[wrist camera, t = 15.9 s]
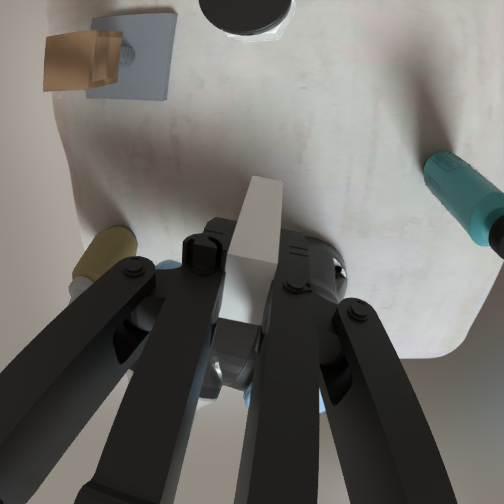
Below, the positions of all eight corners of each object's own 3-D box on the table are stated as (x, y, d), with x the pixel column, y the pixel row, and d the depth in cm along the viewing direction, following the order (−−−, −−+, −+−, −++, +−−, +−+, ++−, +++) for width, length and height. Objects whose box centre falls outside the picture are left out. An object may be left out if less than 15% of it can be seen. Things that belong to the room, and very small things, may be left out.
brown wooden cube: (117, 82, 29) (87, 89, 24) (75, 83, 29) (43, 91, 24) (122, 31, 25) (92, 30, 20) (79, 35, 25) (46, 37, 20)
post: (134, 66, 33) (80, 75, 23) (114, 67, 33) (58, 76, 23) (136, 45, 32) (82, 46, 22) (116, 46, 32) (60, 49, 22)
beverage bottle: (414, 186, 40) (477, 273, 23) (422, 141, 36) (502, 208, 20) (451, 191, 39) (522, 275, 23) (460, 149, 35) (546, 217, 19)
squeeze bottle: (98, 245, 52) (44, 314, 37) (109, 211, 48) (46, 279, 33) (136, 267, 54) (91, 343, 39) (150, 234, 49) (99, 312, 35)
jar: (209, 5, 29) (177, -14, 20) (264, -28, 26) (253, -61, 16) (250, 57, 33) (234, 54, 23) (307, 24, 30) (313, 8, 20)
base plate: (166, 99, 37) (162, 101, 36) (92, 96, 37) (86, 98, 36) (177, 14, 30) (173, 13, 29) (98, 18, 30) (92, 18, 29)
